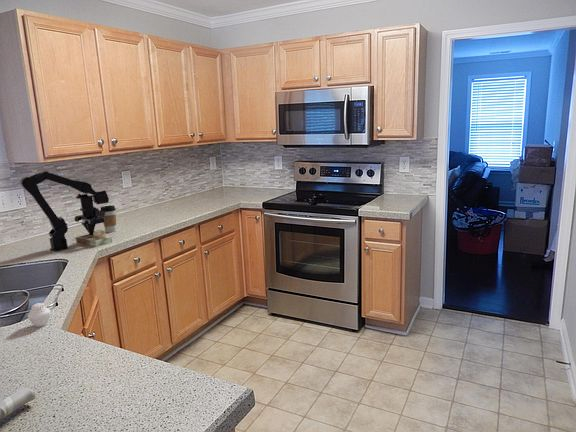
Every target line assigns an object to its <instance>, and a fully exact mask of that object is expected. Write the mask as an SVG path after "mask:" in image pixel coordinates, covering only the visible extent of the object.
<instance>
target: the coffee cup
mask: <svg viewBox="0 0 576 432" xmlns="http://www.w3.org/2000/svg"><path fill="white" fill-rule="evenodd" d="M99 210H100V211H105V217H103V218H104V219H105V222H103V223H102V224H103V226H104V230H105V232H106V234H109V233H115V232H117V214H116V210H117V209H116V206H115V205H105V206H104V205H103V206H100V209H99Z"/></svg>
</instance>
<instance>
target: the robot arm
mask: <svg viewBox="0 0 576 432" xmlns="http://www.w3.org/2000/svg"><path fill="white" fill-rule="evenodd" d="M46 180H48V181H51V182H54V183H58V184H61V185H63V186H67V187H70V188H72V189H73V190H76V191H78V192H80V193H82V194H80V193H77V195H76V196H75V198H76V199H77V200H78V199H79V200H80V201H79V202H80V206H81V208H79V210H80V211H81V212H82V214H78V215H76V216H74V222H76V223H78V222H80V221H82V222H81V223H80V224H81V225H82V226H83V227H84V228H85V230H86V231H87V232H88V234H90V235H93V234H94V231H95V229H96V225H99V224H104V223H103V222H105V219H104V218H103V217H105V211H100V210H101V209H99V208H97V207H95V206H94V204H96V205H104V204H108V203H109V201H110V199H109V196H108V193H107V190H105V189H103V190H101V191H96V190H94V189H93V185H92V184H91V183H89V182H87V181H83V180H82V181H81V180H75V179H71V178H68V177H64V176H62V175H59V174H55V173H52V172H49V171H47V170H43V171H40V172H39V173H35V174H33V175H30V176H27V175H25V176H23V177H22V178H21V179H20V181H19V184H20V186H21V187H22V188H23V189H24V190H25V191H26V192H27V193H28V194H29V195H30V196H31V197H32V198H33V199H34V201H35V202H36V204H37V205H38V207H39V208H40V209H41V210H42V212H43V214H45V216H46V217H47V219H48V222H49V224H50V226H51V230H50V231H49V232H48V236H49V237H50V238H49V242H50V243H49V244H50V248H49V251H53V252H59V251H63V250H67V249H69V248H70V247H69V246H68V241H67V238H66V236H65V235H66V233H68V229H69V228H68V223H66V221H65V219H64V218H63V217H62V216H57V214H56V213H55V212H54V210H53V208H52V207H51V206H50V204H49V203H48V201H47V200H46V198H45V197H44V196H43V194H42V193H41V191H40V189H39V186H38V185H39V184H41V183H43V182H45V181H46ZM88 194H89V195H88Z"/></svg>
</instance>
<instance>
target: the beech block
mask: <svg viewBox="0 0 576 432" xmlns="http://www.w3.org/2000/svg"><path fill="white" fill-rule="evenodd" d="M93 234H94V238H95V239H98V240H100V239H104V238H106V236H107V233H106V231H105V229H98V230H94V233H93Z"/></svg>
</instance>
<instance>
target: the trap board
mask: <svg viewBox="0 0 576 432" xmlns="http://www.w3.org/2000/svg"><path fill="white" fill-rule="evenodd" d="M75 241H76V244H81V245H86V246H91V247H96V248H97V247H98V248H99V247H102V246H104V245H108V244H111V243H113V238H112V236H109V235H106V238H104V239H100V240H98V239H95V238H94V233H93V235H90V234H89V233H87V234H84V235H81V236H76V237H75Z"/></svg>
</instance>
